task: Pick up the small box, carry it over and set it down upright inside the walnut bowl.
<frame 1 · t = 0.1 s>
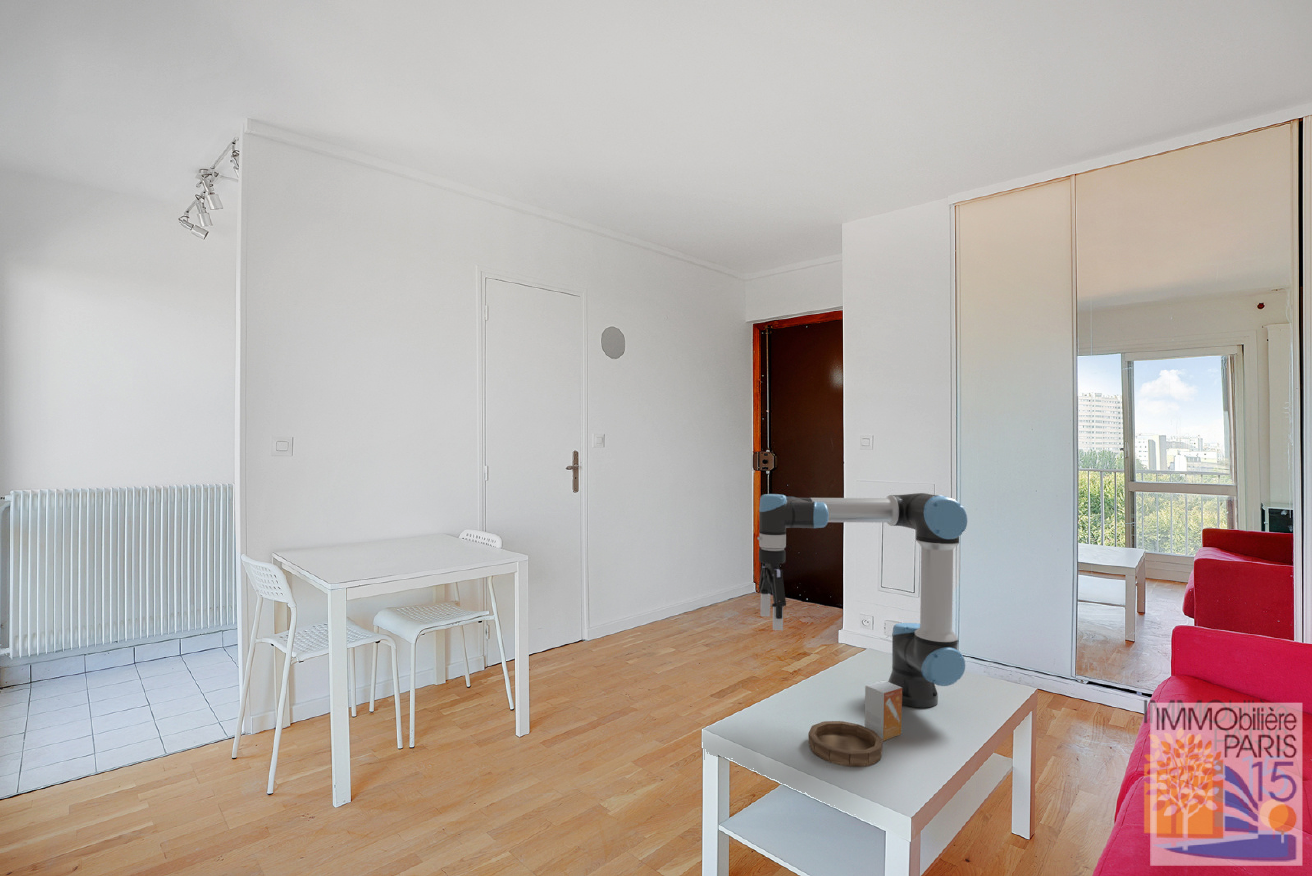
hand: (771, 622, 181), 28 cm above the table, fingers open, 13 cm apart
walnut bowl: (844, 749, 164), on the table
small box: (883, 734, 173), on the table
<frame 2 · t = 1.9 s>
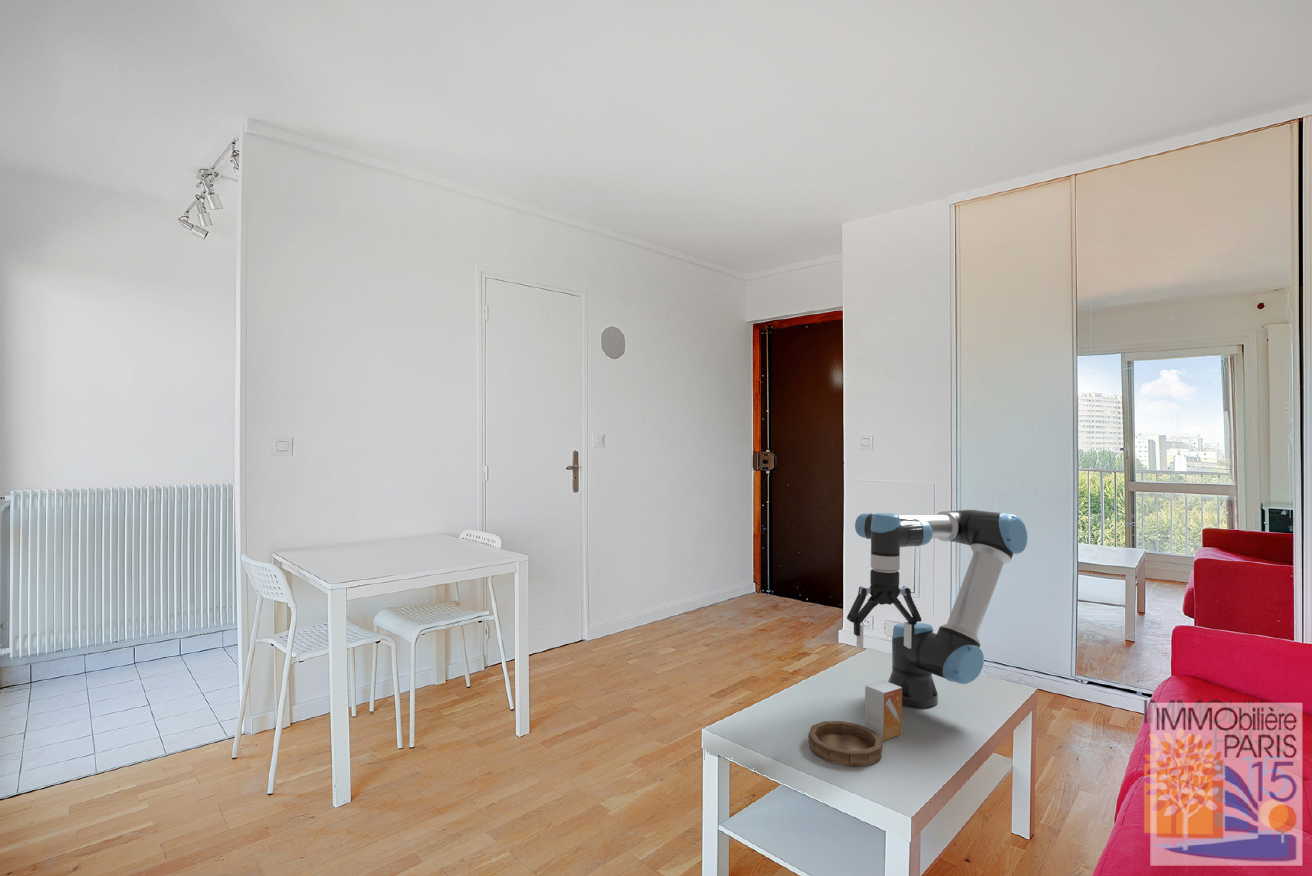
hand: (883, 647, 173), 24 cm above the table, fingers open, 13 cm apart
nothing on the table moved.
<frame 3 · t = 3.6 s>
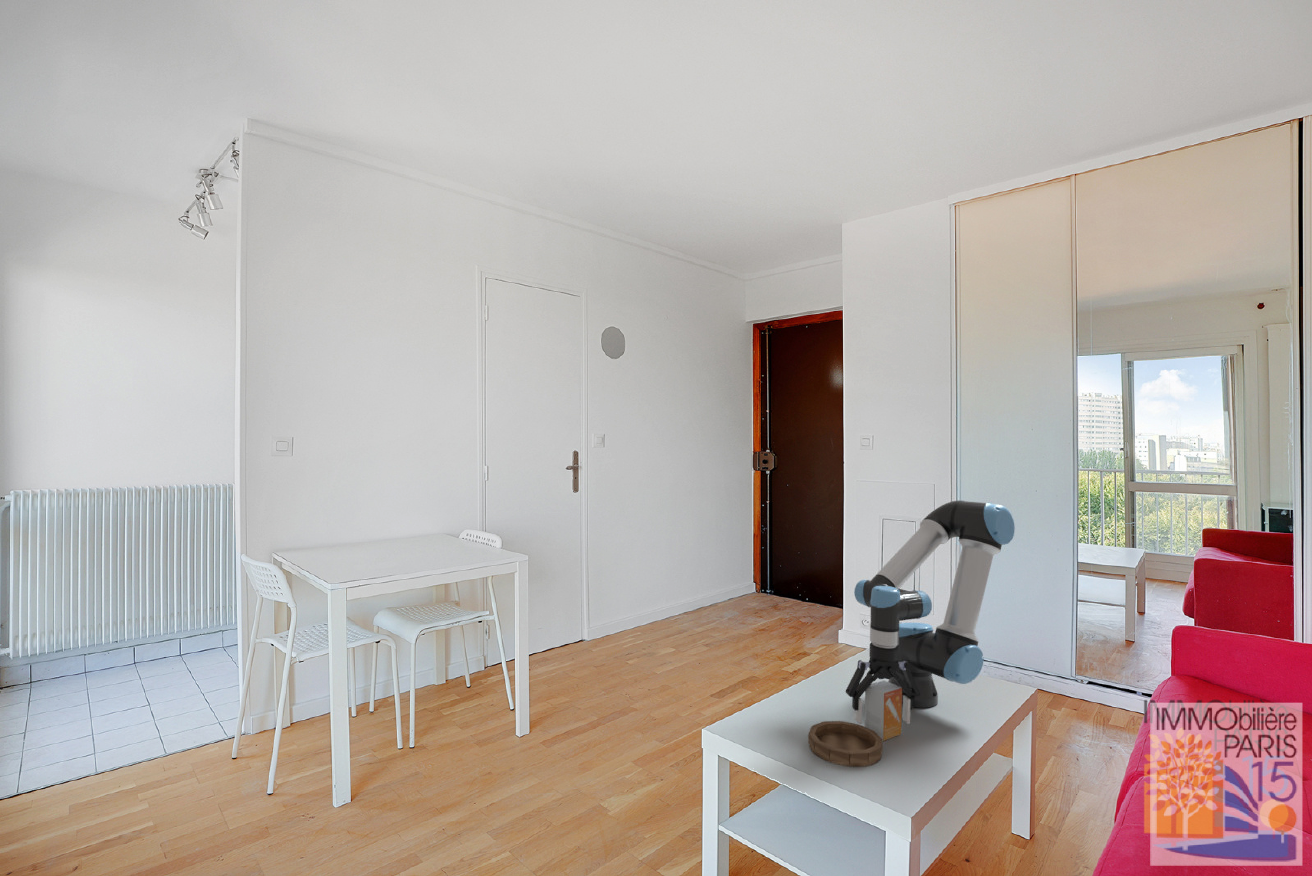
hand: (882, 721, 173), 3 cm above the table, fingers open, 13 cm apart
nothing on the table moved.
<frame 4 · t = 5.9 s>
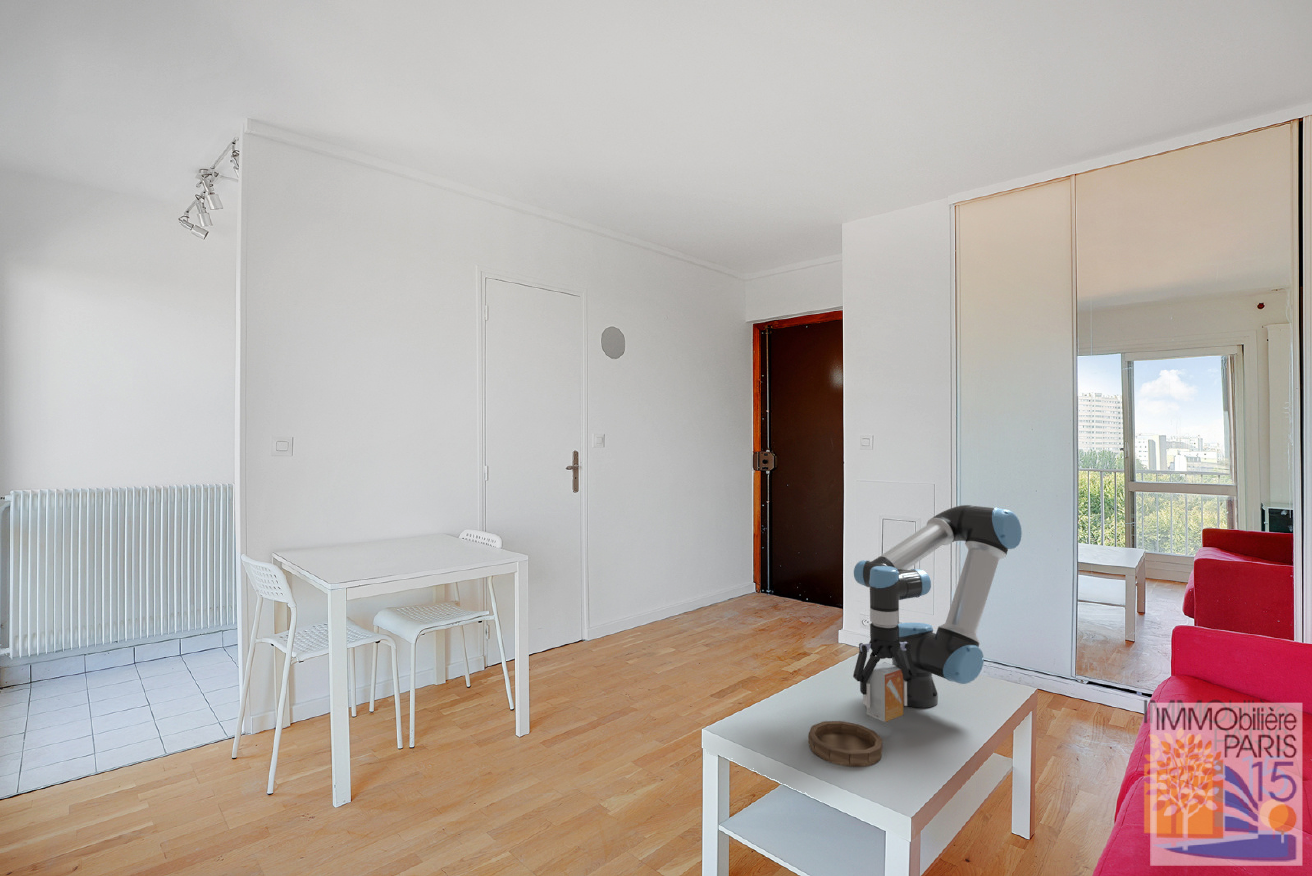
hand: (885, 704, 174), 8 cm above the table, fingers closed on small box, 10 cm apart
small box: (885, 715, 174), point 5 cm above the table, touching gripper
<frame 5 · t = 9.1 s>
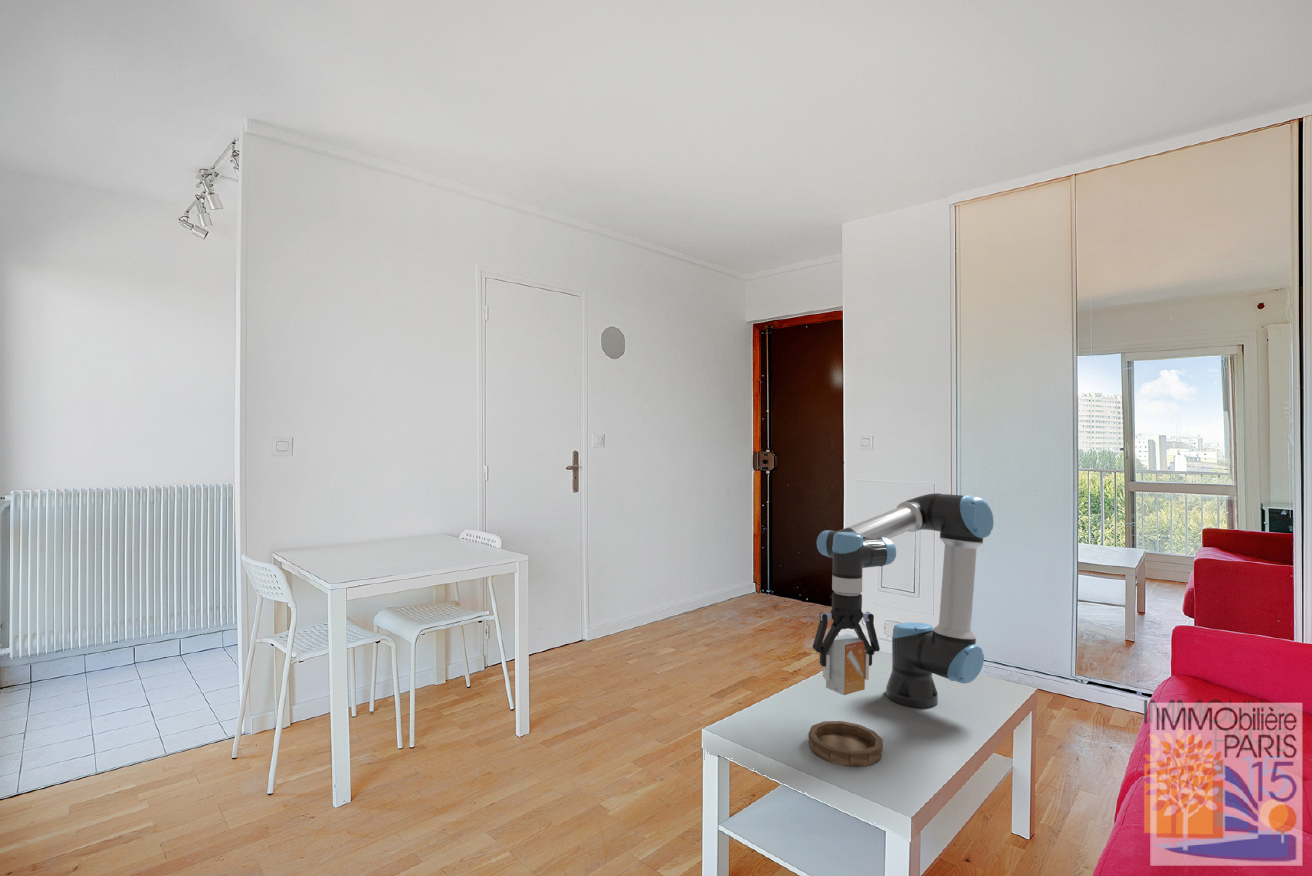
hand: (845, 678, 164), 18 cm above the table, fingers closed on small box, 10 cm apart
small box: (845, 689, 164), point 15 cm above the table, touching gripper
when the fingers open (3 cm above the table, at t = 12.6 s): small box stays where it is, resting on walnut bowl.
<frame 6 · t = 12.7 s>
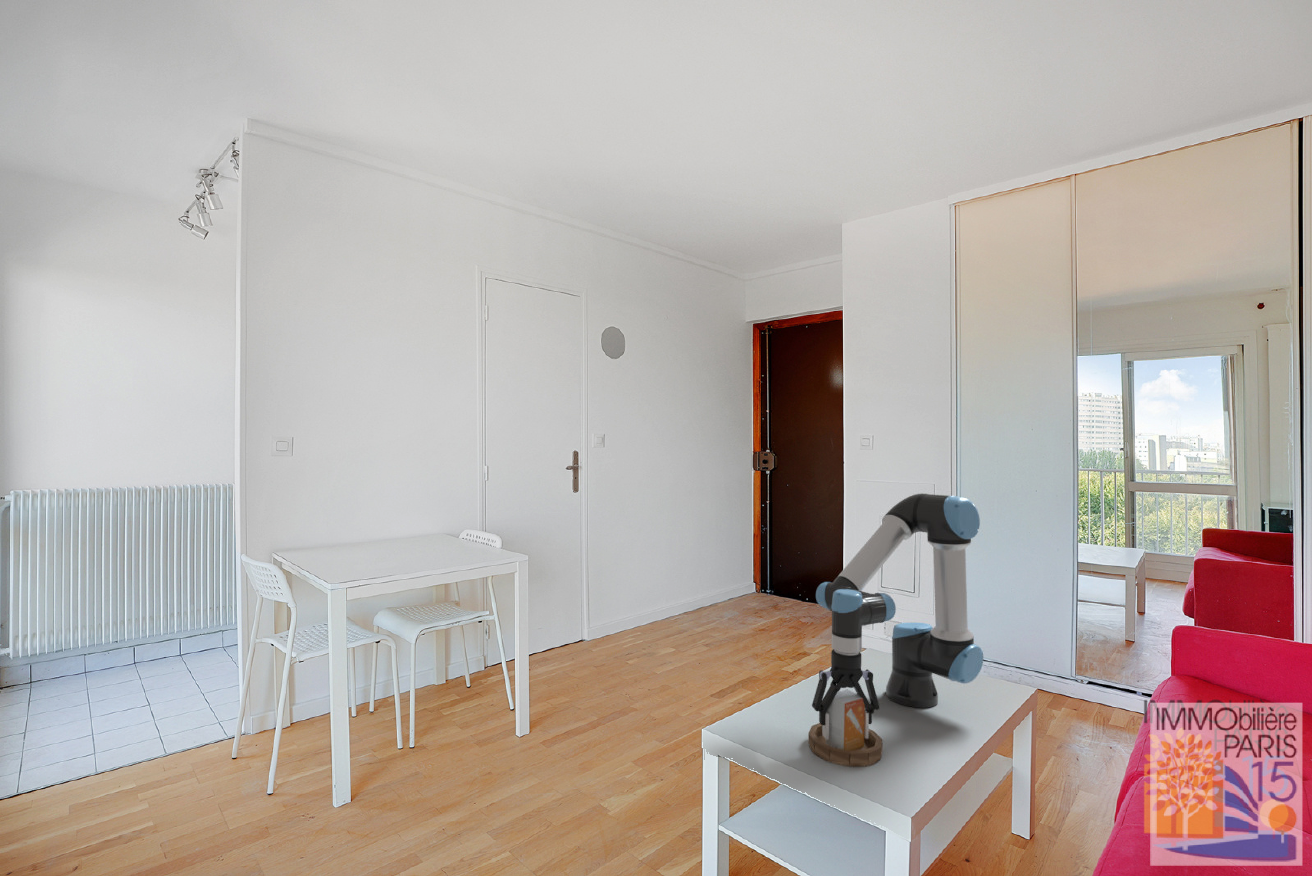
hand: (845, 736, 164), 3 cm above the table, fingers open, 10 cm apart
small box: (844, 746, 164), point 1 cm above the table, touching walnut bowl
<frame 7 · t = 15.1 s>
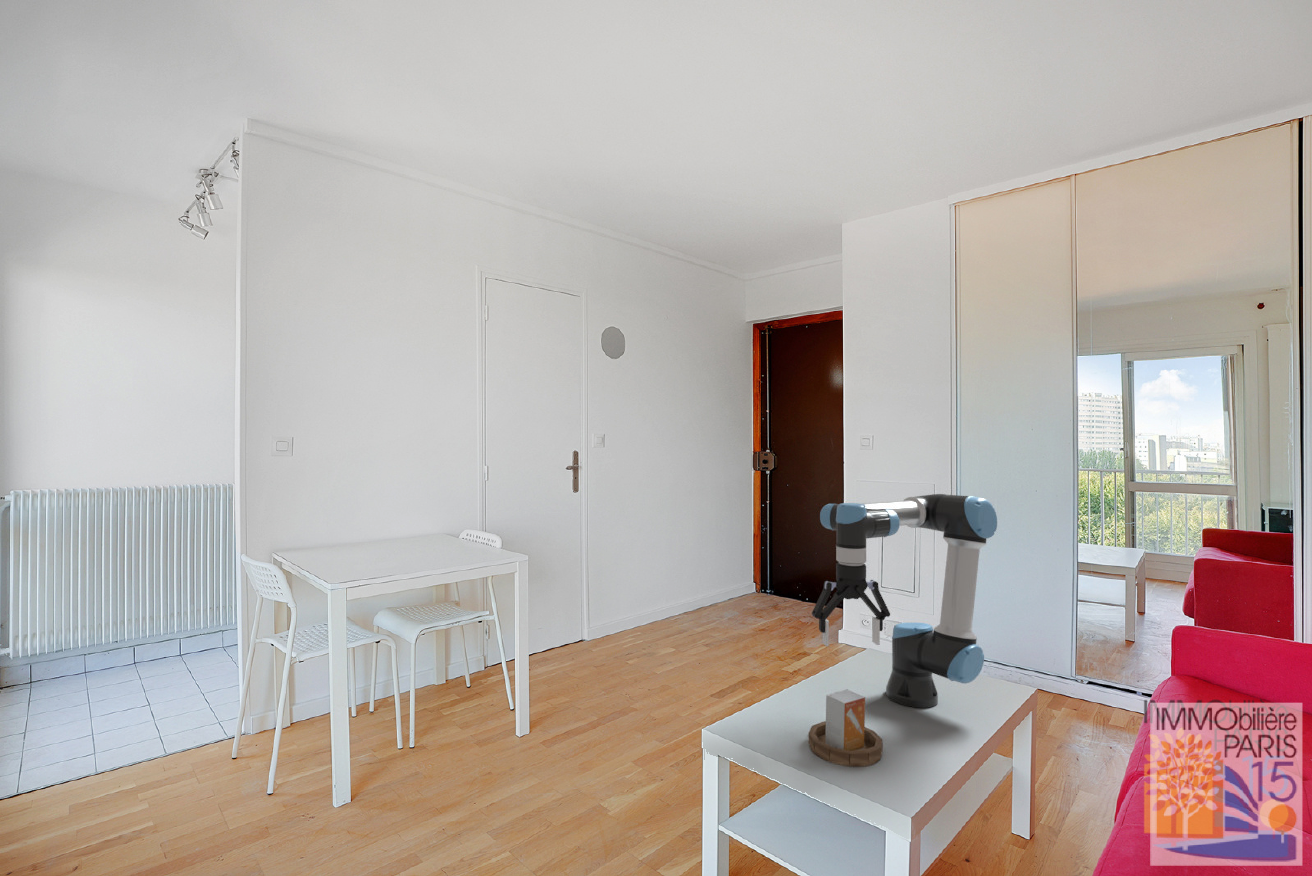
hand: (850, 644, 165), 27 cm above the table, fingers open, 13 cm apart
nothing on the table moved.
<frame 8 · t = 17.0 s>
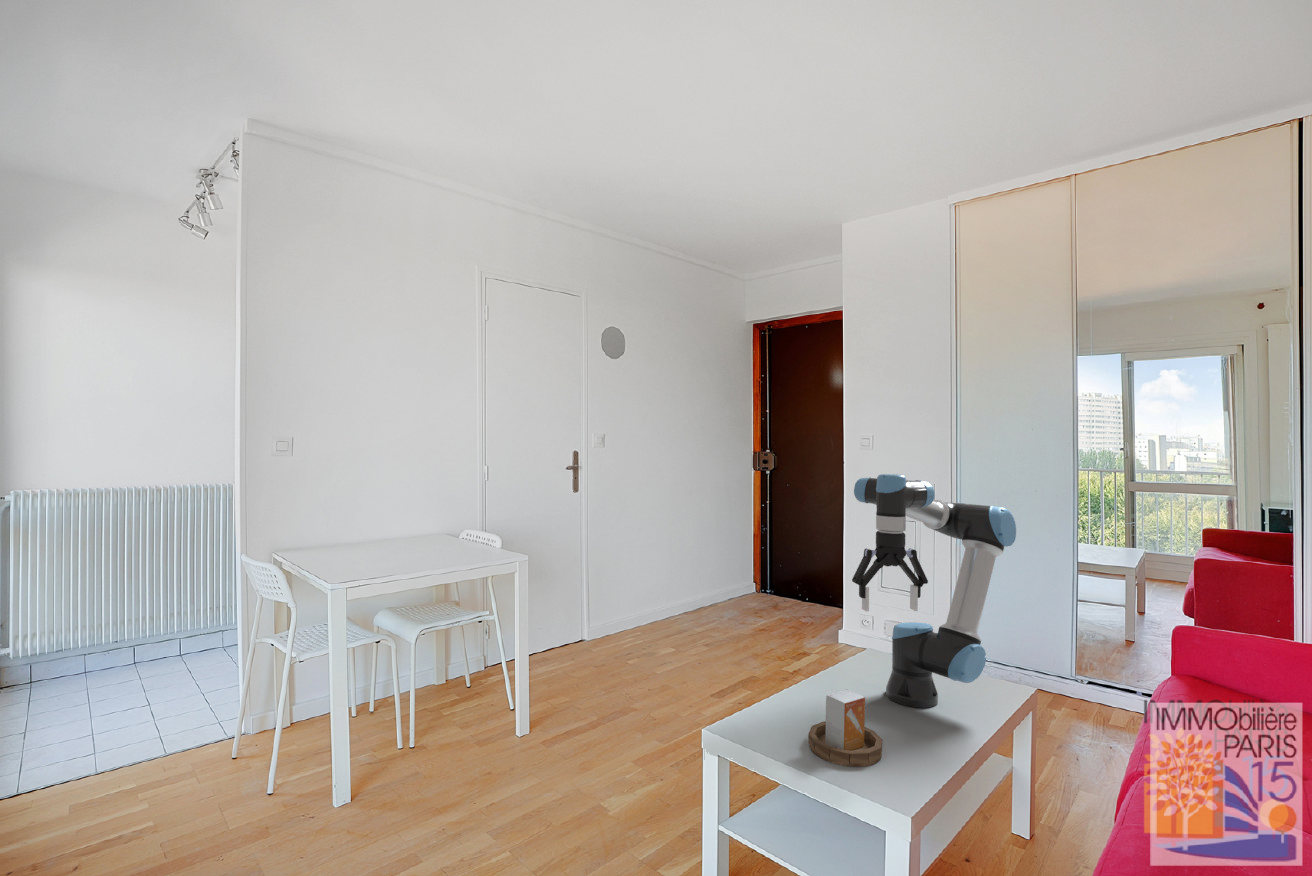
hand: (889, 610, 171), 35 cm above the table, fingers open, 13 cm apart
nothing on the table moved.
at the end: small box 0.1 cm from the walnut bowl (horizontally); small box point 0.6 cm above the table; small box tilted 0° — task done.
